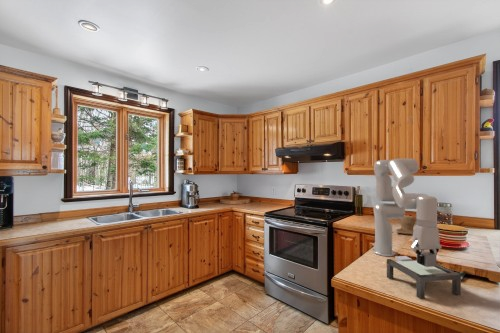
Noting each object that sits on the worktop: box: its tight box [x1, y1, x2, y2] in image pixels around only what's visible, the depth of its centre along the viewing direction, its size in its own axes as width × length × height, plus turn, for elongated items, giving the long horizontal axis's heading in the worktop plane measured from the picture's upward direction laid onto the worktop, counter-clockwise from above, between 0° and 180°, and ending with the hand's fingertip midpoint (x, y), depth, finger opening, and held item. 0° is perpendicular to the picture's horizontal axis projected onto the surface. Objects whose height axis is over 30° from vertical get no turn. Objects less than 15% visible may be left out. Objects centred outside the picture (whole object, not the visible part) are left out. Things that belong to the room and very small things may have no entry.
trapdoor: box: [394, 255, 447, 275], centre depth 111 cm, size 19×14×2 cm
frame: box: [386, 258, 462, 300], centre depth 109 cm, size 20×20×9 cm
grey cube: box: [420, 250, 437, 267], centre depth 106 cm, size 5×5×5 cm
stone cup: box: [396, 215, 416, 235], centre depth 194 cm, size 15×12×15 cm
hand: (426, 263), depth 106 cm, fingers closed on grey cube, 5 cm apart
